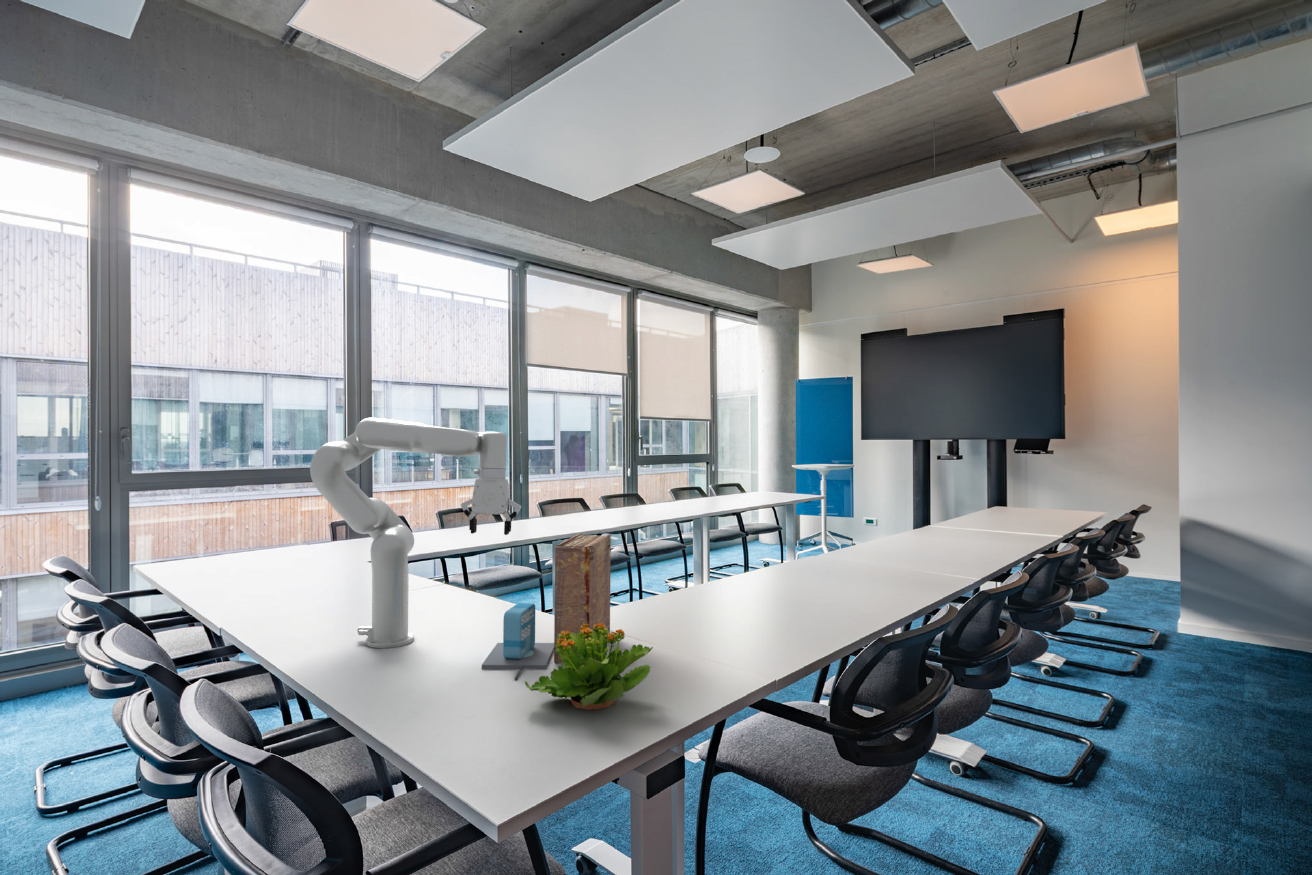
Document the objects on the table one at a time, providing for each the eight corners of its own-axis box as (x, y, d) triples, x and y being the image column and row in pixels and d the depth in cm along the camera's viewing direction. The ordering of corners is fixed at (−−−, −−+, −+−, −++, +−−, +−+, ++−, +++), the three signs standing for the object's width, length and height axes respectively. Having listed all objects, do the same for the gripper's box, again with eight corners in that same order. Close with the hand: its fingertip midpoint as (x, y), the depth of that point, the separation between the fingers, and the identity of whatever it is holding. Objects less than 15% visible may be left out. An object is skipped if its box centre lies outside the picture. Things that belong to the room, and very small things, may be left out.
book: (579, 634, 193) (580, 532, 194) (610, 636, 192) (611, 533, 192) (553, 663, 168) (554, 546, 168) (588, 665, 167) (589, 547, 167)
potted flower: (577, 674, 160) (577, 602, 160) (667, 689, 151) (668, 613, 151) (518, 713, 137) (518, 629, 137) (620, 733, 128) (621, 643, 128)
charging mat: (473, 680, 156) (473, 675, 156) (497, 646, 182) (497, 642, 182) (541, 680, 156) (541, 676, 156) (555, 646, 182) (555, 642, 182)
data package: (519, 660, 167) (520, 613, 167) (502, 659, 167) (503, 612, 167) (535, 646, 179) (535, 602, 179) (519, 645, 179) (519, 601, 179)
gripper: (458, 473, 187) (456, 534, 187) (519, 476, 186) (516, 536, 186) (466, 472, 194) (464, 530, 194) (525, 474, 194) (522, 533, 194)
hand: (490, 533), depth 190 cm, fingers open, 9 cm apart
